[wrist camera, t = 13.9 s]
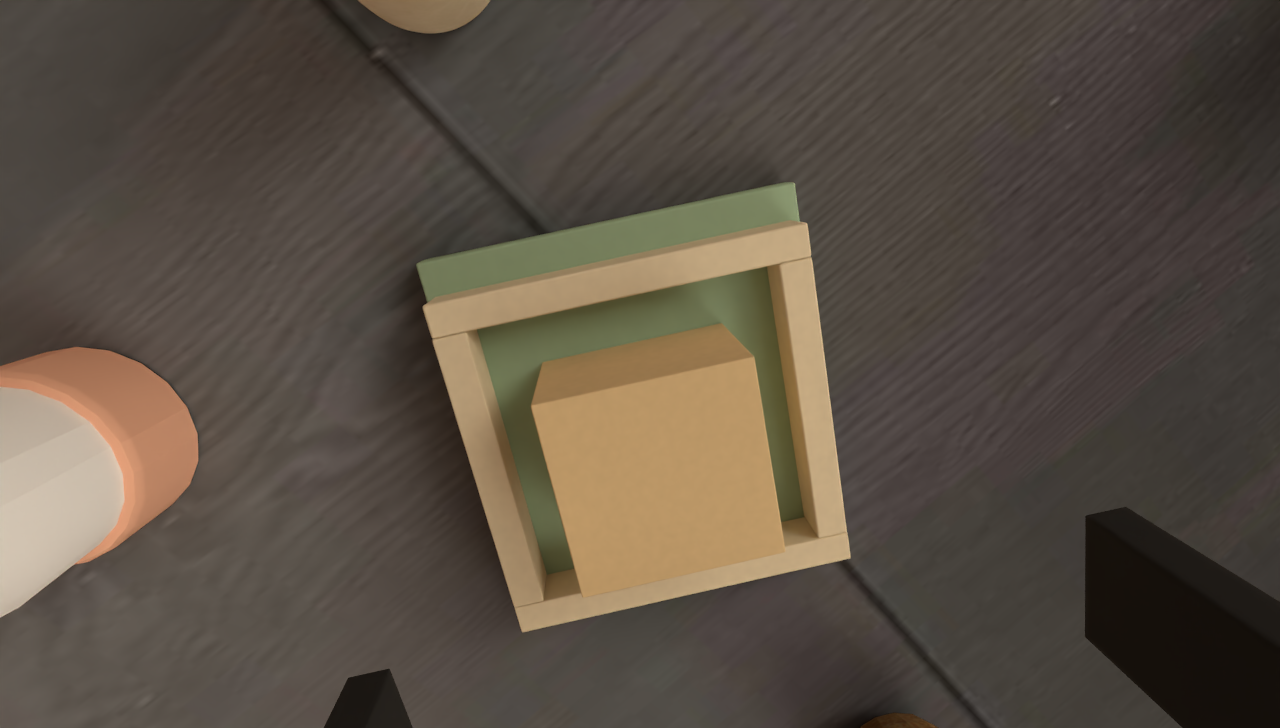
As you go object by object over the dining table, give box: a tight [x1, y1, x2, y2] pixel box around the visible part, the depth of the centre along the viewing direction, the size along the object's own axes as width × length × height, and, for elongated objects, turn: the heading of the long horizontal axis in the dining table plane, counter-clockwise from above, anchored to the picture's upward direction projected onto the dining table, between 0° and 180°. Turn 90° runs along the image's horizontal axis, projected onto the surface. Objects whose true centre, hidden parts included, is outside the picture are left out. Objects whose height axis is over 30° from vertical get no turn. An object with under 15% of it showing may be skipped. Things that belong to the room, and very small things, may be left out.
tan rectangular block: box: [531, 323, 786, 598], centre depth 23 cm, size 7×7×5 cm
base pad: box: [416, 182, 850, 632], centre depth 25 cm, size 16×14×3 cm
